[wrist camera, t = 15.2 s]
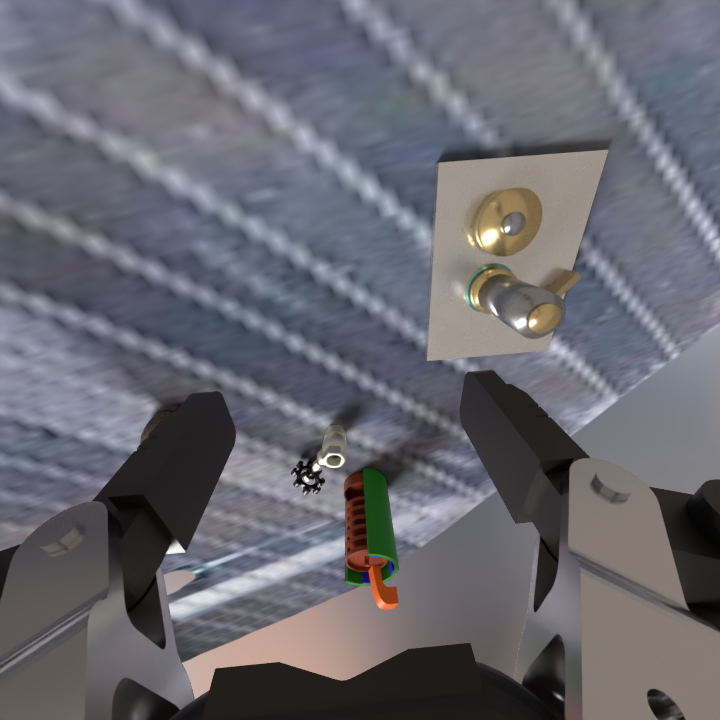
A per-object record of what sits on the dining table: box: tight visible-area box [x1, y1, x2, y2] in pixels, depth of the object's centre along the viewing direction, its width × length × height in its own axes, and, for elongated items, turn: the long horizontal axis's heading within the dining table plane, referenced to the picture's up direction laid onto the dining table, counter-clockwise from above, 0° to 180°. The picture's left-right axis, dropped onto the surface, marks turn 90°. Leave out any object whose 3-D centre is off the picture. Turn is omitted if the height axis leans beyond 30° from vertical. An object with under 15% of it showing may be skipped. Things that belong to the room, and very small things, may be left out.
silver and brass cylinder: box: [468, 267, 566, 339], centre depth 32 cm, size 6×6×12 cm
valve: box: [291, 425, 347, 495], centre depth 48 cm, size 7×7×12 cm
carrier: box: [425, 150, 609, 361], centre depth 35 cm, size 25×19×4 cm
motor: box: [344, 468, 399, 609], centre depth 48 cm, size 10×9×20 cm
